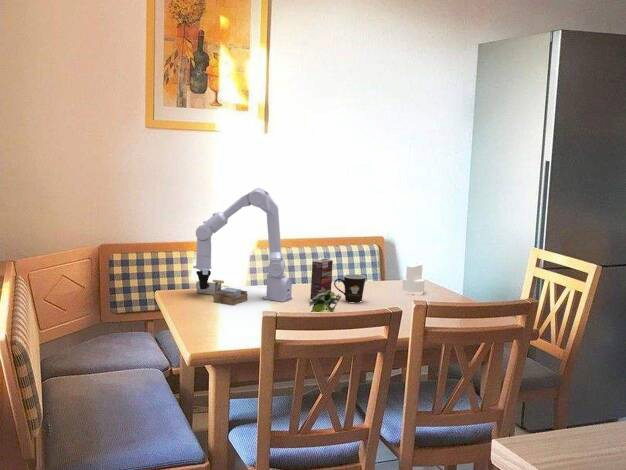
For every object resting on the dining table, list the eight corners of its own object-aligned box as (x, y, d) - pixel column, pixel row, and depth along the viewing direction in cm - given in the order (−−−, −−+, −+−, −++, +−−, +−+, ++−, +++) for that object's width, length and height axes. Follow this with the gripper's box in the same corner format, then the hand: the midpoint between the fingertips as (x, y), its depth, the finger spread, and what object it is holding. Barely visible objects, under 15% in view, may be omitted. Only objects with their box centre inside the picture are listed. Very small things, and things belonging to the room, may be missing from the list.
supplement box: (320, 303, 266) (322, 262, 264) (309, 301, 269) (311, 261, 266) (331, 299, 273) (333, 260, 271) (321, 297, 276) (323, 258, 274)
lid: (240, 294, 264) (241, 289, 263) (233, 297, 259) (234, 291, 259) (227, 292, 266) (227, 287, 266) (220, 294, 262) (220, 289, 261)
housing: (247, 300, 266) (247, 290, 265) (233, 305, 257) (233, 295, 256) (227, 296, 269) (227, 287, 269) (213, 302, 260) (213, 292, 260)
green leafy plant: (320, 326, 253) (332, 298, 257) (339, 328, 244) (351, 299, 248) (298, 312, 247) (312, 283, 251) (317, 313, 239) (330, 283, 243)
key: (224, 294, 272) (224, 280, 271) (221, 296, 269) (222, 281, 269) (198, 291, 275) (199, 277, 274) (196, 292, 273) (196, 278, 272)
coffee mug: (367, 300, 274) (368, 276, 272) (359, 304, 266) (361, 279, 264) (340, 296, 278) (341, 272, 277) (332, 300, 271) (333, 276, 269)
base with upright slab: (408, 289, 297) (410, 262, 296) (427, 293, 292) (429, 265, 290) (398, 292, 290) (400, 265, 288) (417, 296, 285) (419, 268, 283)
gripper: (191, 252, 275) (191, 285, 277) (195, 258, 261) (194, 293, 263) (209, 252, 276) (208, 285, 278) (213, 258, 263) (212, 293, 264)
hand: (203, 289), depth 271 cm, fingers closed, pressing on key
